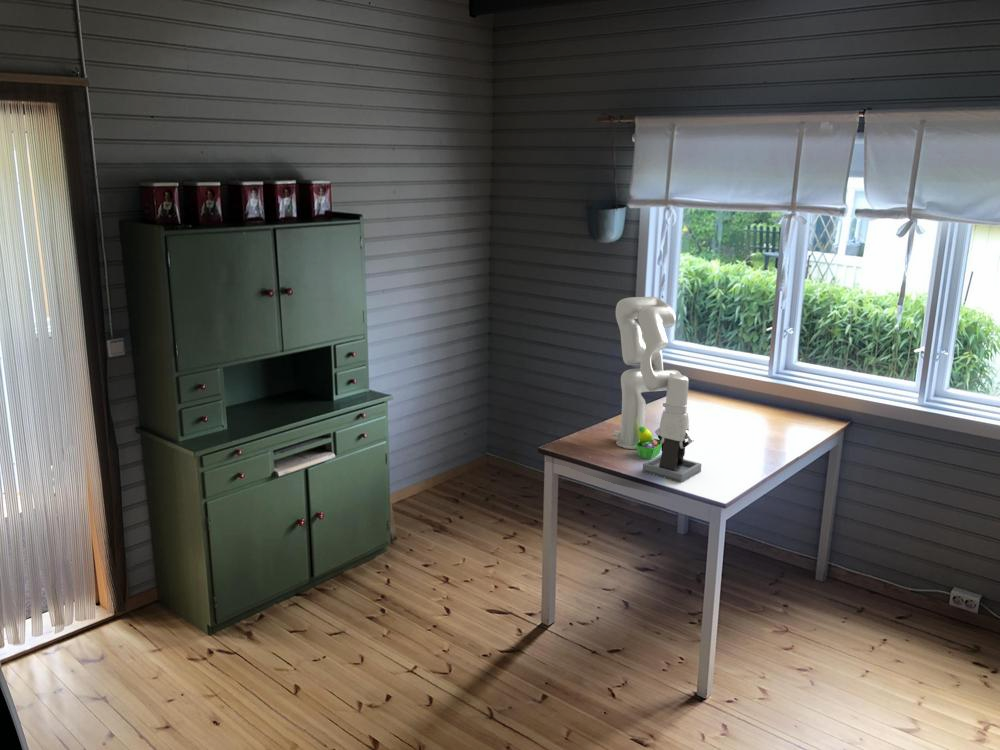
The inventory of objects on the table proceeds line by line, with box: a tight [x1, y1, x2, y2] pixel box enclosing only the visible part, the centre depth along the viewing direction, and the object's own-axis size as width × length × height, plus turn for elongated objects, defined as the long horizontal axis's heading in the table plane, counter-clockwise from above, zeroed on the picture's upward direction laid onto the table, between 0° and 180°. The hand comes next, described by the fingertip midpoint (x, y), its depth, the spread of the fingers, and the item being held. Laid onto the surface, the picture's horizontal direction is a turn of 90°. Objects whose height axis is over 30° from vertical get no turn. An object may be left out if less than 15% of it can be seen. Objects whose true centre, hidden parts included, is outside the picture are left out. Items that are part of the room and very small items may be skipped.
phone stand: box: [659, 438, 685, 471], centre depth 295 cm, size 9×6×12 cm, turn 144°
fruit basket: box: [636, 426, 662, 460], centre depth 313 cm, size 11×9×11 cm
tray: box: [642, 454, 702, 483], centre depth 297 cm, size 16×15×3 cm
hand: (672, 454), depth 296 cm, fingers closed on phone stand, 6 cm apart
